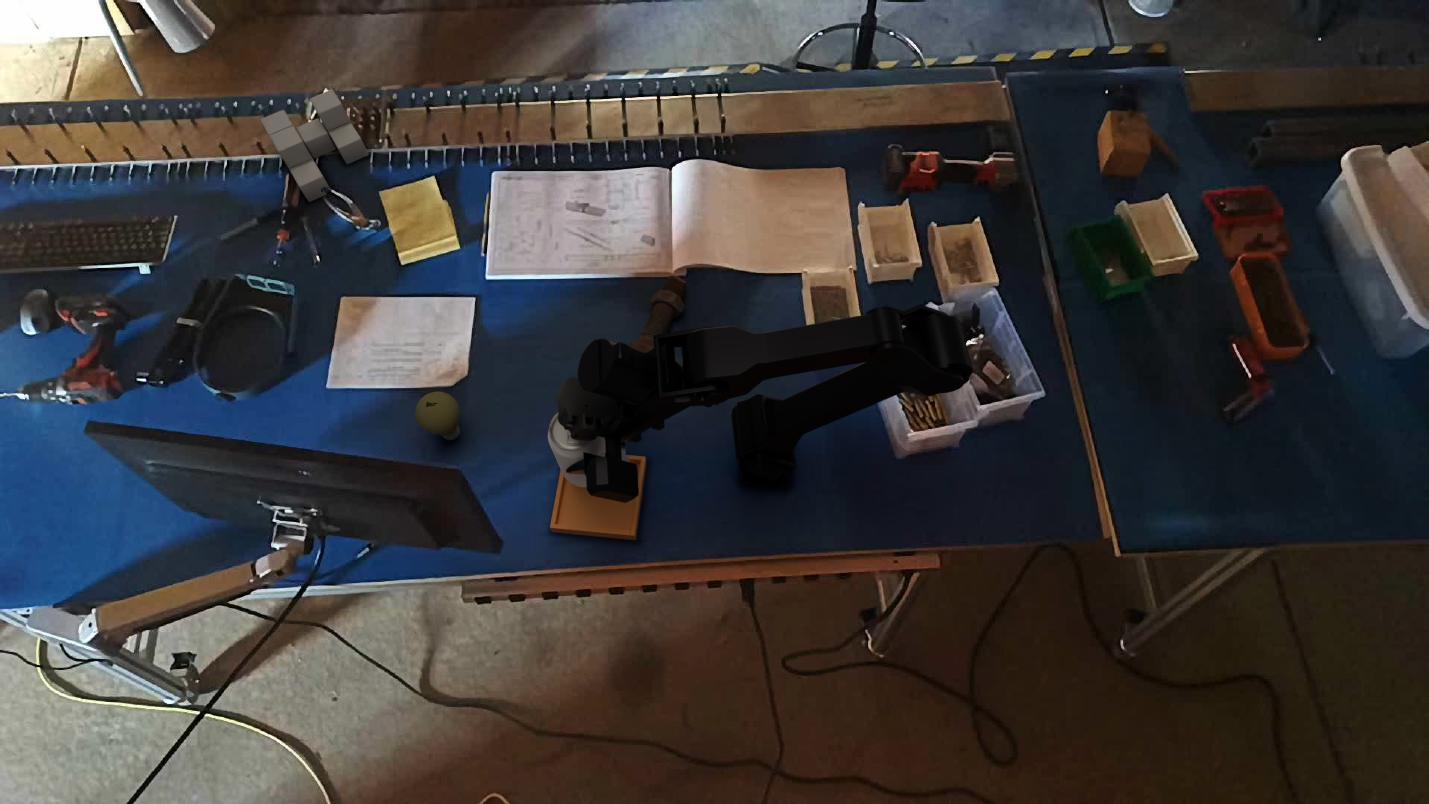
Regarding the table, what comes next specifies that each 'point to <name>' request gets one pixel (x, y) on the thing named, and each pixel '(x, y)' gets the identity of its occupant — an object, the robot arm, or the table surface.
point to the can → (571, 450)
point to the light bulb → (439, 414)
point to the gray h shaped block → (314, 141)
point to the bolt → (662, 312)
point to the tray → (597, 510)
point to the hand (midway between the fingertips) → (568, 446)
